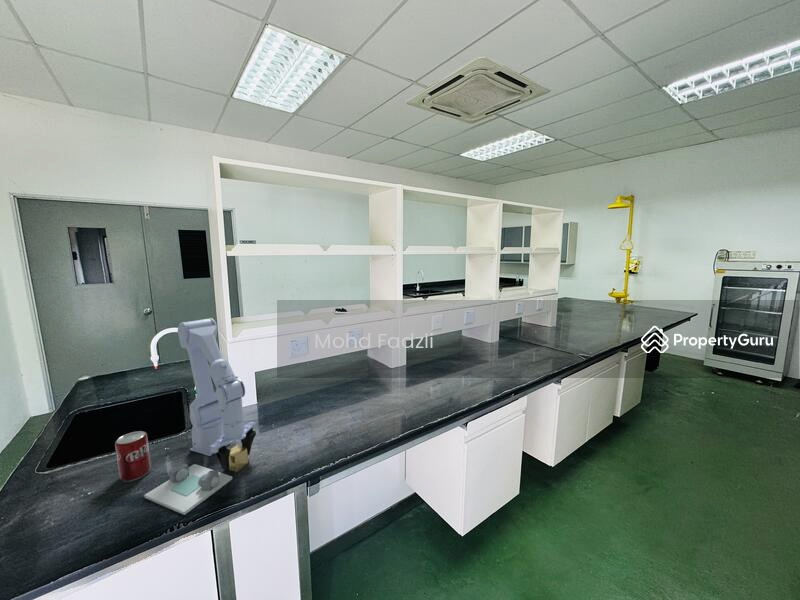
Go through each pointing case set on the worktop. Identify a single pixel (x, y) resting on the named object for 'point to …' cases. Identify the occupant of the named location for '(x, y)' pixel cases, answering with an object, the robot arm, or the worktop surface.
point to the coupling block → (237, 458)
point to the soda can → (133, 456)
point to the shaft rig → (187, 487)
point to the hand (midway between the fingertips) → (236, 461)
